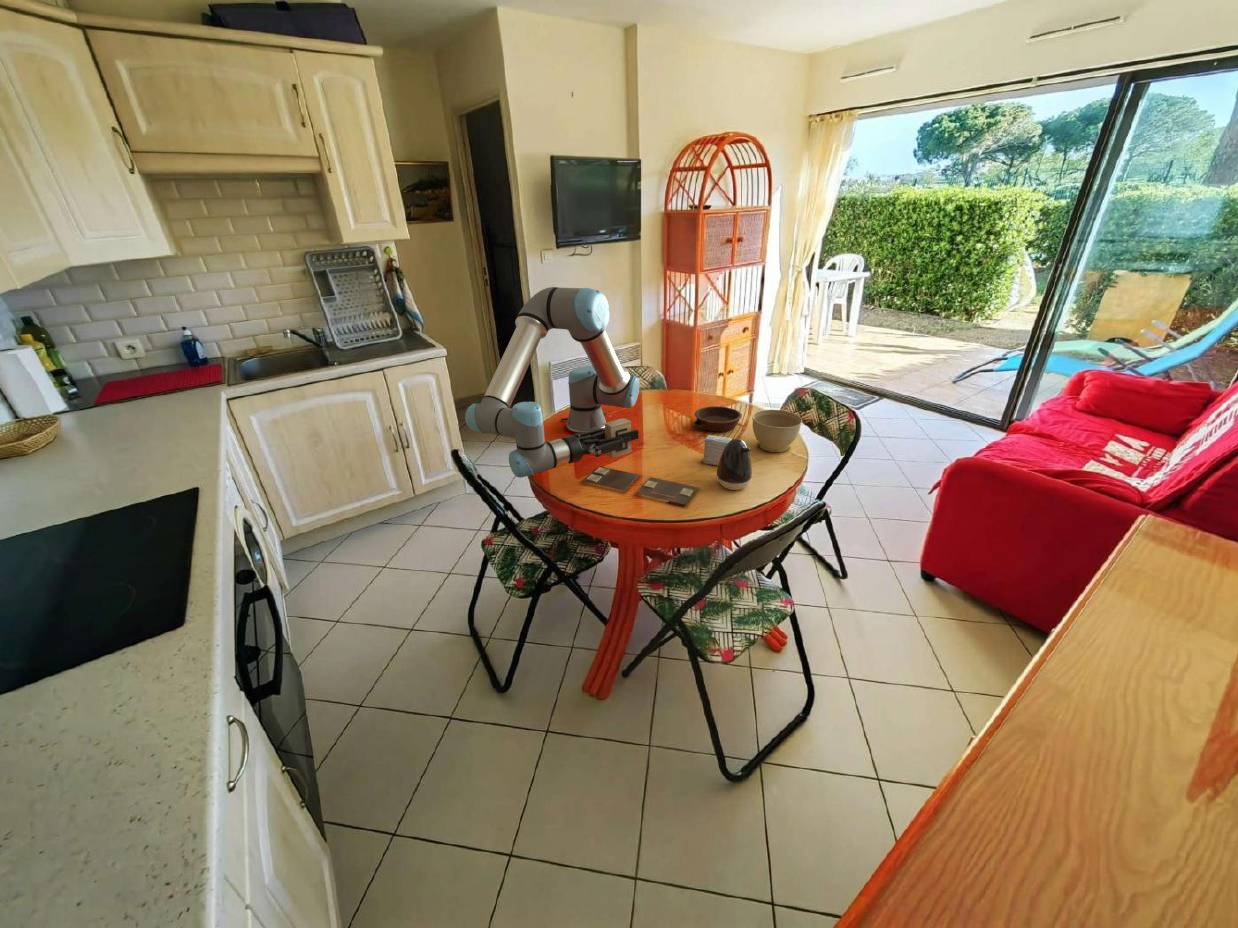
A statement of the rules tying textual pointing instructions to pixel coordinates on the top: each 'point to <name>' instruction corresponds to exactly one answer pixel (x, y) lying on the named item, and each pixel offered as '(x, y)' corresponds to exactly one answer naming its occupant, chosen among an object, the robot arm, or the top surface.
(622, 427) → the small grey cuboid
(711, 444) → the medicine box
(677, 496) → the right mat
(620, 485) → the left mat
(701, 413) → the dish
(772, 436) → the planter bowl
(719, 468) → the pump dispenser
